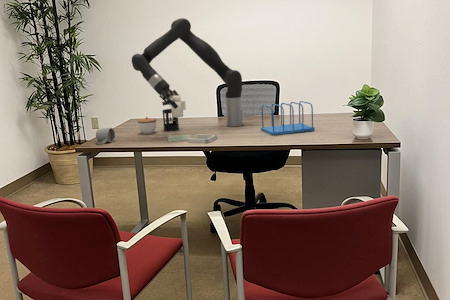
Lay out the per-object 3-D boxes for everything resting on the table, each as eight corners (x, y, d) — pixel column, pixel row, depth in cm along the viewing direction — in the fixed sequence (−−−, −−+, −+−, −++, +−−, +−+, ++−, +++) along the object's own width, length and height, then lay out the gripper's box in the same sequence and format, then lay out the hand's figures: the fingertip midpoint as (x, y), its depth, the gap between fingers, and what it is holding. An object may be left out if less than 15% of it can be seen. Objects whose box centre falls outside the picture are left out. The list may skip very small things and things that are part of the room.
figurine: (169, 117, 238) (167, 96, 236) (174, 115, 244) (173, 95, 241) (182, 117, 235) (181, 96, 233) (188, 115, 241) (186, 95, 238)
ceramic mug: (102, 140, 248) (100, 126, 246) (116, 140, 246) (114, 126, 244) (92, 145, 238) (90, 130, 236) (106, 145, 236) (104, 130, 234)
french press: (174, 131, 262) (172, 92, 257) (160, 131, 265) (157, 92, 260) (182, 127, 273) (180, 90, 268) (168, 127, 276) (165, 90, 271)
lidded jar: (148, 130, 270) (147, 115, 268) (160, 132, 264) (159, 116, 261) (134, 133, 262) (133, 117, 260) (147, 135, 256) (145, 119, 253)
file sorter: (300, 126, 262) (300, 100, 258) (315, 131, 246) (315, 103, 242) (260, 130, 255) (260, 103, 252) (272, 136, 239) (272, 107, 235)
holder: (188, 142, 233) (187, 138, 232) (197, 137, 243) (197, 134, 242) (207, 143, 228) (207, 139, 228) (216, 138, 238) (216, 134, 238)
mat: (190, 135, 249) (190, 134, 249) (191, 140, 237) (190, 139, 237) (168, 137, 248) (168, 136, 248) (168, 141, 236) (168, 140, 236)
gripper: (155, 80, 232) (177, 103, 230) (169, 77, 244) (190, 99, 243) (147, 90, 235) (169, 113, 233) (161, 87, 248) (182, 109, 246)
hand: (179, 106), depth 238 cm, fingers closed on figurine, 6 cm apart
